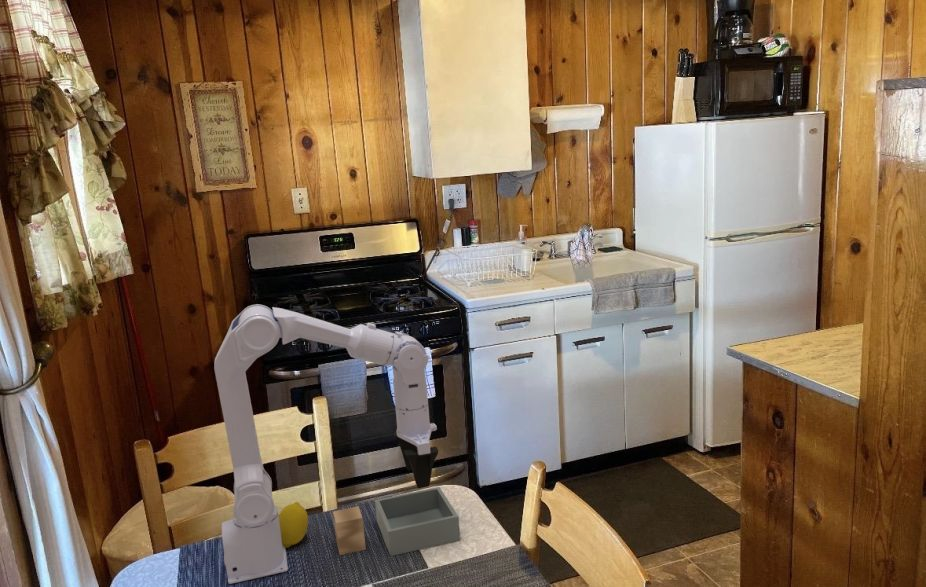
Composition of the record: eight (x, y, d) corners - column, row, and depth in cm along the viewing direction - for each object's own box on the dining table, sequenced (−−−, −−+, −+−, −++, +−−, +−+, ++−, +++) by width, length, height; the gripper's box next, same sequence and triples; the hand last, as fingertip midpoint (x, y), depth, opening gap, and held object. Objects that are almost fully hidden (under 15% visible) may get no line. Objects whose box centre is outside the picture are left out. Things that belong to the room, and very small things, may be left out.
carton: (339, 555, 121) (336, 523, 120) (336, 542, 125) (332, 511, 124) (365, 549, 122) (362, 517, 121) (361, 537, 127) (358, 506, 126)
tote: (390, 556, 120) (388, 531, 119) (377, 522, 131) (374, 499, 131) (460, 540, 123) (458, 516, 122) (441, 508, 135) (439, 486, 134)
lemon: (305, 550, 127) (316, 504, 129) (296, 553, 122) (307, 505, 124) (276, 544, 128) (287, 498, 130) (265, 546, 122) (277, 499, 124)
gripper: (445, 414, 117) (451, 490, 120) (423, 389, 131) (429, 457, 134) (403, 421, 116) (410, 498, 118) (386, 395, 129) (392, 465, 132)
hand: (418, 477), depth 126 cm, fingers open, 7 cm apart
